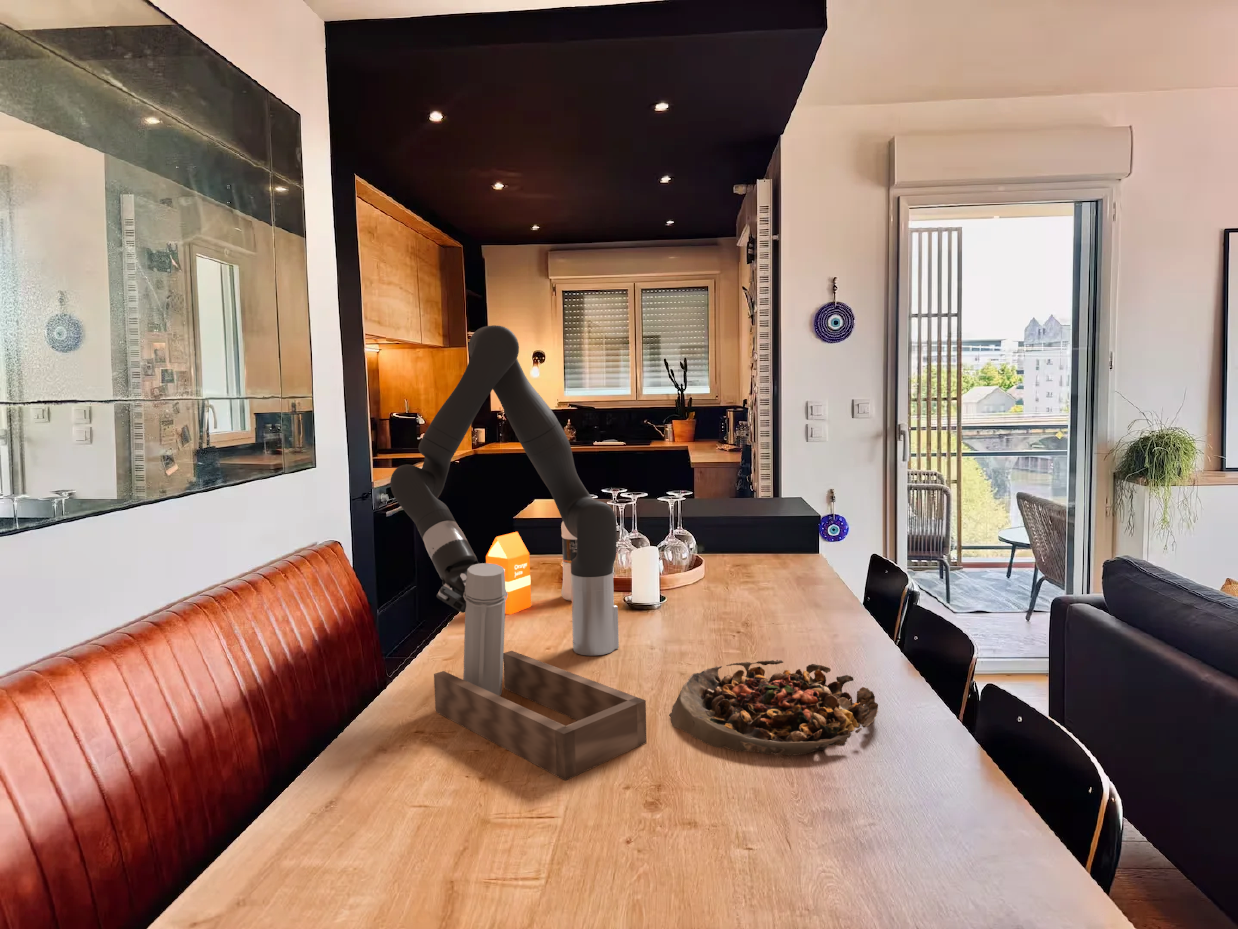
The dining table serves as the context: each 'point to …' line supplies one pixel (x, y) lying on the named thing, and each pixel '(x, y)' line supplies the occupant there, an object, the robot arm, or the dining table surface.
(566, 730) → the bottle rest
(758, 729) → the food dish
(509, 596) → the orange juice
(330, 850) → the dining table surface
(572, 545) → the vodka
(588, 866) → the dining table surface
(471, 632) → the water bottle
